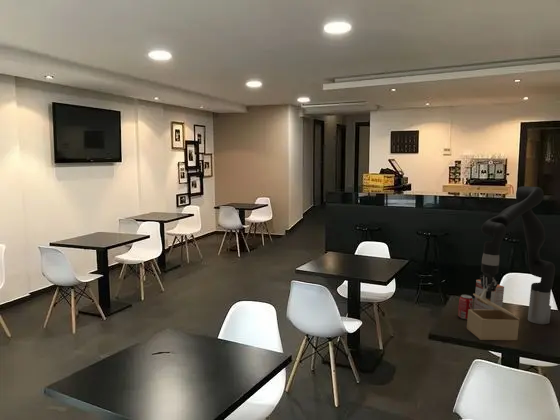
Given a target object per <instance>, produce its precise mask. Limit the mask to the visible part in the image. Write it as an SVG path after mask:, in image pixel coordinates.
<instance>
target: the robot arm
mask: <svg viewBox="0 0 560 420" xmlns="http://www.w3.org/2000/svg"><path fill="white" fill-rule="evenodd" d="M544 196H545V195H544V190H543V189H542V188H541V187H539V186H527V185H526V186H525V185H523V186H522V185H521V186H519V187H517V189H516V193H515V198H516V203H514V204H511V205H509V206H507V207H506V208H504V209H503V210H502V211H500V212H499V213H498V215H495V216H493V217H491V218H489V219H487V220H486V221H485V222H483V224H482V225H481V230H480V231H481V232H482V234H483V235H485V236H488V237H491V238H492V237H493V238H492V240H486V241H485V242H484V244H483V252H482V258H481V267H480V272H482V274H481V275H479V280H481V286H482V287H483V289H486V298H487V299H490V298H491V292H492V291H495V289H496V287H497V285H499V282H498V281H496V275H498V274H499V270H500V269H499V266H500V251H501V245H502V243H503V240H504V239H505V238H504V237H505V236H506V233H507V229H506V228H508V227H509V226H510V225H511V224H512V223H514V221H516V220H517V219H518V218H519V217H521V220H522V226H523V227H522V228H523V232H524V239H525V242H526V243H525V244H526V250H527V256H528V257H527V258H528V270H529V273H530V274H531V275H532V276H534V277H536V278H539V279H540V281H539V282H533V283H531V285H530V294H529V304H528V313H527V314H528V315H527V320H528V322H531V323H533V324H536V325H547V324H550V320H551V311H552V310H551V309H552V305H550V303H551V302H550V301H551V293H552V289H553V286H554V280H555V275H556V267H555V264H554V263H553V262H552V261H548V260H543V259H542V258H541V256H540V255H541V254H540V250H541V249H542V247H543V245H544V243H545V241H546V231H545V226H544V224H543V223H542V221H541V220H540V218H538V217H537V215H536V214H535V213H534V211H533V208H535V207H536V206H538V205H539V204H541V202H542V201H543V199H544ZM483 284H484V285H483Z"/></svg>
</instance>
